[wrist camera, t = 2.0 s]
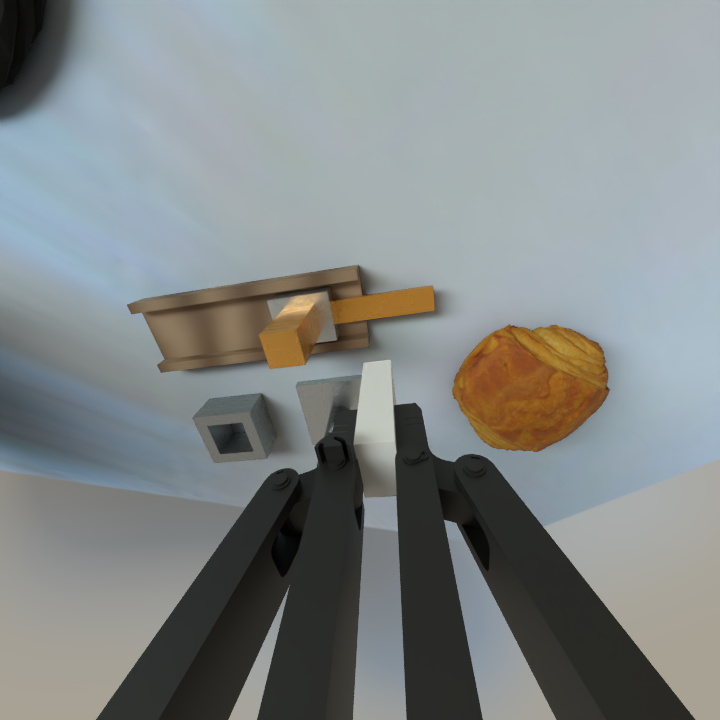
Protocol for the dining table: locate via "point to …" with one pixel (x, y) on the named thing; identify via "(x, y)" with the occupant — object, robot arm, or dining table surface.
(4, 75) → the cable lock
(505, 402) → the croissant
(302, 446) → the dining table surface
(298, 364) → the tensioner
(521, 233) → the dining table surface
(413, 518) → the robot arm
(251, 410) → the square hollow frame
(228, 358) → the rail
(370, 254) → the dining table surface
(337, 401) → the square plate with peg
